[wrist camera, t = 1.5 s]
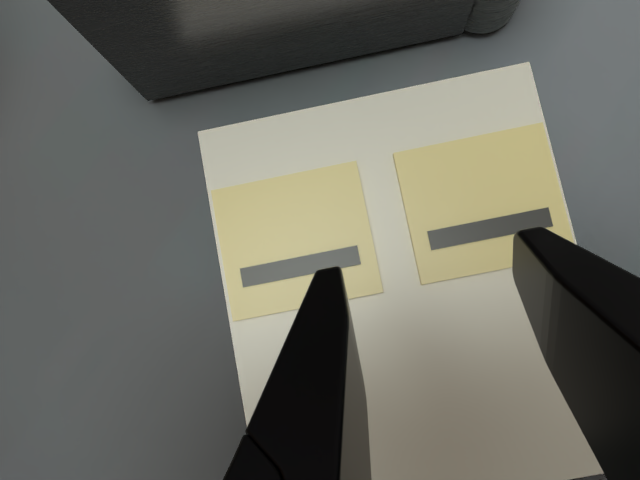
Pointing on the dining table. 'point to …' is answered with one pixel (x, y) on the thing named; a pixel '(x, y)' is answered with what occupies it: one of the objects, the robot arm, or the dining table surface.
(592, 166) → the dining table surface
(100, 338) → the dining table surface
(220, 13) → the swing panel
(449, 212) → the label board
